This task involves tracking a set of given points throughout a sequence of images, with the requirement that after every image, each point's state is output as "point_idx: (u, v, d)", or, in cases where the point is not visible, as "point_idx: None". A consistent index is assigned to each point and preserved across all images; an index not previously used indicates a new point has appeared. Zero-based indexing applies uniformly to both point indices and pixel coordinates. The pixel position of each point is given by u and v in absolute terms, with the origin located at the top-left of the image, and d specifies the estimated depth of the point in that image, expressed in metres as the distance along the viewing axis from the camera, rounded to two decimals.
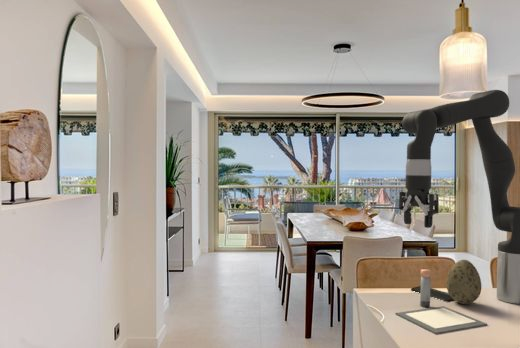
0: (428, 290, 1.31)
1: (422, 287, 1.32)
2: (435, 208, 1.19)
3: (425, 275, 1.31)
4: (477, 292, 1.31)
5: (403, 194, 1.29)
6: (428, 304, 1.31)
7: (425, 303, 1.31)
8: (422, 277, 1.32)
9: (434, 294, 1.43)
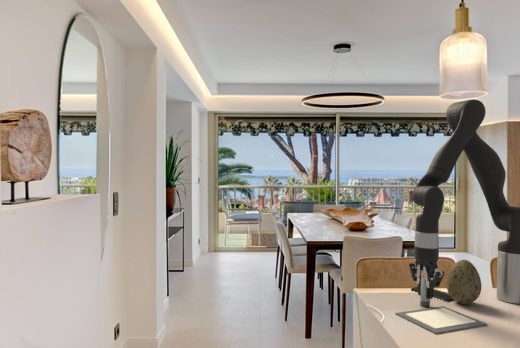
0: None
1: (422, 287, 1.32)
2: (437, 282, 1.28)
3: None
4: (477, 292, 1.31)
5: (412, 265, 1.37)
6: (428, 304, 1.31)
7: (425, 303, 1.31)
8: (422, 277, 1.32)
9: (434, 294, 1.43)
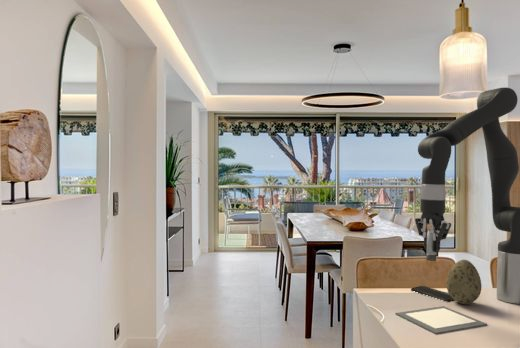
0: None
1: (428, 240, 1.29)
2: (444, 234, 1.26)
3: None
4: (477, 292, 1.31)
5: (418, 220, 1.34)
6: (434, 258, 1.28)
7: (431, 257, 1.28)
8: (428, 230, 1.29)
9: (434, 294, 1.43)
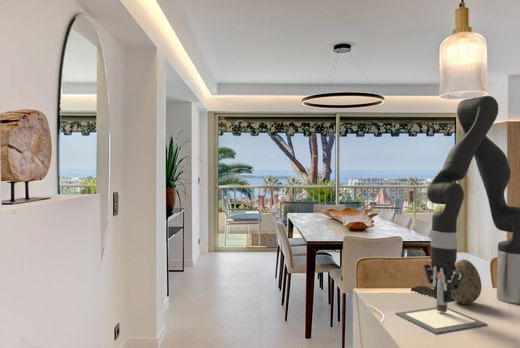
0: None
1: (439, 290, 1.24)
2: (455, 285, 1.21)
3: None
4: (477, 292, 1.31)
5: (428, 266, 1.29)
6: (445, 308, 1.23)
7: (442, 307, 1.23)
8: (439, 279, 1.24)
9: None
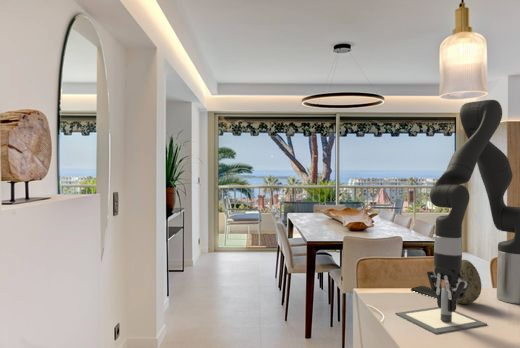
0: None
1: (443, 299, 1.16)
2: (461, 293, 1.13)
3: None
4: (477, 292, 1.31)
5: (431, 273, 1.22)
6: (450, 318, 1.16)
7: (447, 317, 1.16)
8: (443, 287, 1.16)
9: (434, 294, 1.43)
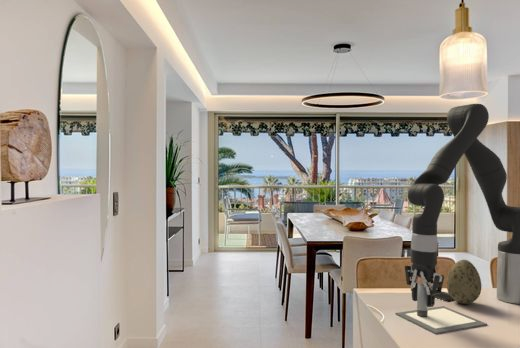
0: (425, 298, 1.20)
1: (419, 295, 1.21)
2: (438, 288, 1.17)
3: (422, 282, 1.20)
4: (477, 292, 1.31)
5: (408, 268, 1.26)
6: (425, 314, 1.20)
7: (422, 313, 1.20)
8: (419, 284, 1.21)
9: None
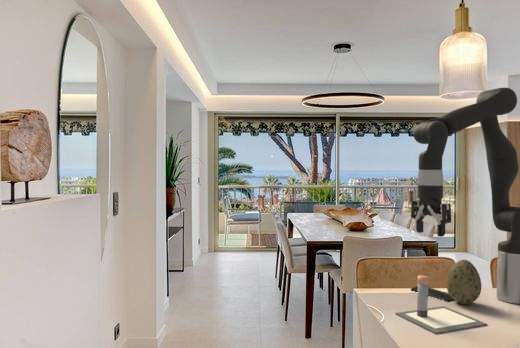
0: (425, 298, 1.20)
1: (419, 295, 1.21)
2: (448, 217, 1.22)
3: (422, 282, 1.20)
4: (477, 292, 1.31)
5: (415, 203, 1.32)
6: (425, 314, 1.20)
7: (422, 313, 1.20)
8: (419, 284, 1.21)
9: (434, 294, 1.43)
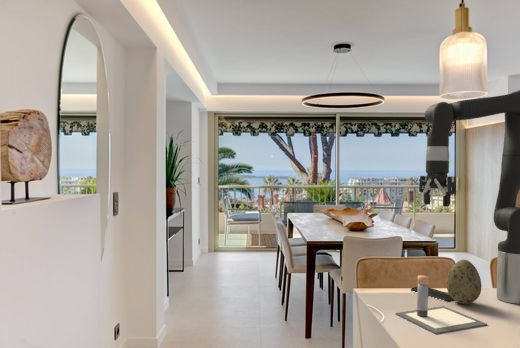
0: (425, 298, 1.20)
1: (419, 295, 1.21)
2: (453, 189, 1.34)
3: (422, 282, 1.20)
4: (477, 292, 1.31)
5: (423, 178, 1.45)
6: (425, 314, 1.20)
7: (422, 313, 1.20)
8: (419, 284, 1.21)
9: (434, 294, 1.43)
